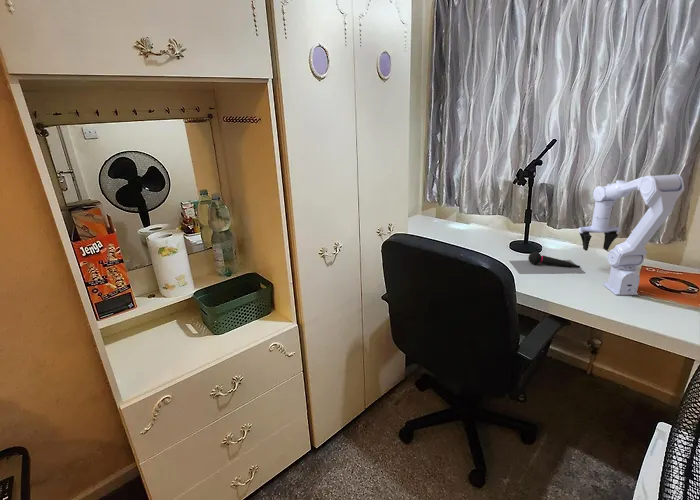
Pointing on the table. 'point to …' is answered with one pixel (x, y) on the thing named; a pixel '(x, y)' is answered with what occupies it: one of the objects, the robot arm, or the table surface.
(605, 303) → the table surface
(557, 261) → the microphone
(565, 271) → the charcoal mat
